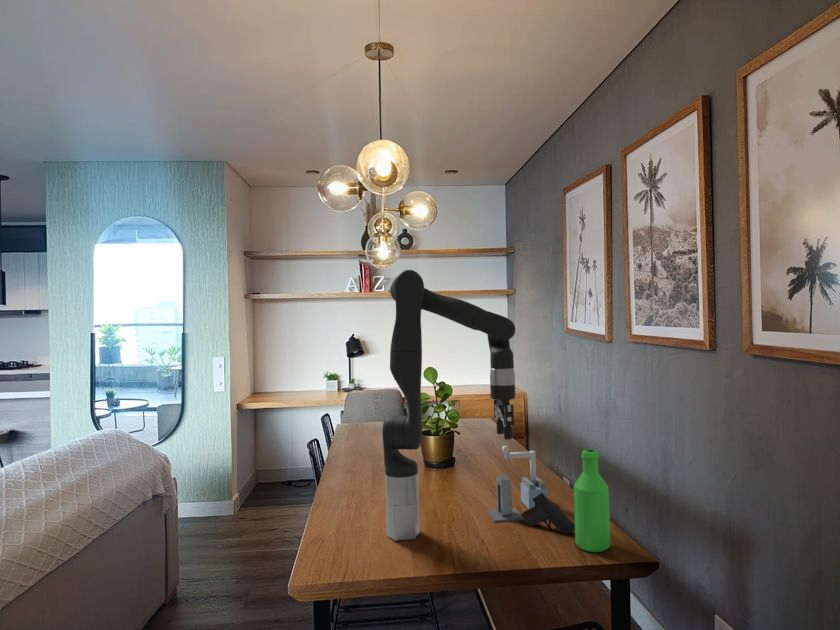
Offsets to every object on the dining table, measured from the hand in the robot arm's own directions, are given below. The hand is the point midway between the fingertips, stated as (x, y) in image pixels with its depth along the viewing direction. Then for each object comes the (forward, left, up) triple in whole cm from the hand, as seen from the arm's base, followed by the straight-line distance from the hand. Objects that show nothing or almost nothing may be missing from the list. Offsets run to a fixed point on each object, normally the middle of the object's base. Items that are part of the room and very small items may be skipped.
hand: (504, 436), depth 166 cm
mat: (+1, 0, -24) cm, 24 cm away
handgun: (-12, -9, -25) cm, 29 cm away
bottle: (-25, -16, -25) cm, 39 cm away
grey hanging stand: (+9, -8, -24) cm, 27 cm away
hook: (+1, 0, -24) cm, 24 cm away
